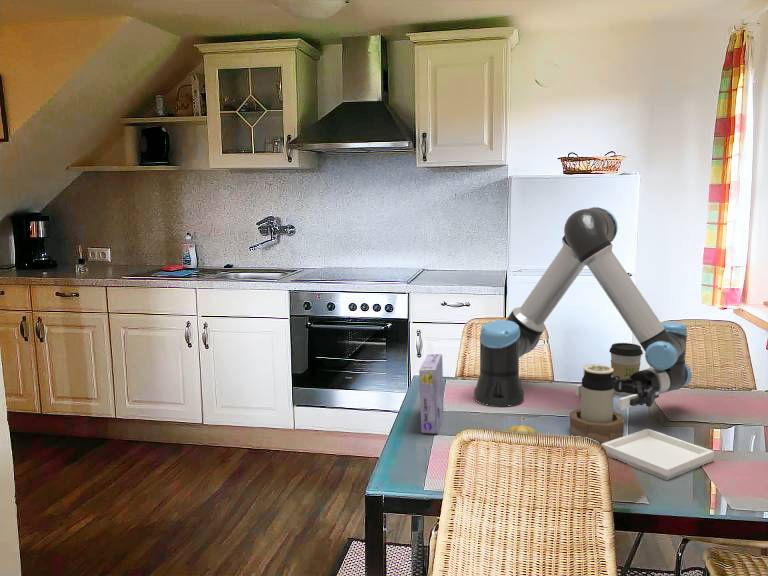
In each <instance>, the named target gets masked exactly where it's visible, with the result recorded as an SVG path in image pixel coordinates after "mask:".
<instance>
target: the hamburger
mask: <svg viewBox="0 0 768 576" xmlns="http://www.w3.org/2000/svg"><path fill="white" fill-rule="evenodd" d="M520 419H521V420H520V421H521V424H520V425H519V424H517V425H514V426H511V427H509V428H507V429H506V431H509V432H517V433H527V434H538V432H537V430H535V429H534V428H532V427H531V426H527V425H522V423H523V422H524V421H527V420H528V418H526V417H525V416H522V415H521V417H520Z"/></svg>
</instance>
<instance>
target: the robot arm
mask: <svg viewBox="0 0 768 576" xmlns="http://www.w3.org/2000/svg"><path fill="white" fill-rule="evenodd" d="M618 227H619V226H618V222H617V219H616V217H615V216H614V214H613V213H611V211H609V210H607V209H606V208H601V207H597V206H593V207H589V208H583V209H579V210H576V211H574V212H573V213H572V214H571V215H570V216H569V217H568V218H567V219H566V222H565V223H564V230H563V232H564V235H563V237H562V238H561V242H562V247H561V248H560V250H559V251H558V253H557V255H556V256H555V257H554V259H553V260H552V262H551V263H550V264H549V266H548V267H547V268H546V269H545V272H544V273H543V275H542V276H541V278H540V279H539V280H538V282H537V283H536V285H535V286H534V287H533V289H532V291H531V292H530V293H529V295H528V296H527V298H526V299H525V301H523V303H522V305H521V306H520V307H514V308H513V309H512V311H511V312H510V313H509V315H508V317H507V318H506V319H505V320H504V319H497V320H494V321H488V322H486V323H485V324H483V325H482V327H481V328H480V334H479V343H480V344H479V376H478V379H477V382H476V387H475V388H474V390H473V399H474V398H475V399H476V400H477V401H479V402H481V403H480V404H482V403H484V404H483V405H485V404H488V405H487V406H490V405H495V406H494V407H500V406H505V407H509V406H508V405H514V406H517V405H516V404H518V405H520V404H519V403H521V402H522V403H523V402H524V401H525V391H524V389H523V385H522V382H521V378H520V375H519V374H520V373H519V372H520V371H519V370H520V358H521V357H523V356H524V355H525V354H529V353H530V352H531V351H533V350H534V349H535V348H536V347H537V345H538V343H540V342H539V341H540V339H541V336H542V334H543V333H544V332H545V330H546V326H545V322H546V321H547V319H548V318H549V316H550V315H551V313H552V312H553V311H554V309H555V308H556V307H557V305H558V304H559V303H560V301H561V300H562V298H563V297H564V296H565V294H566V293H567V292H568V290H569V288H570V287H571V286H572V284H573V283H574V282H575V280H576V279H577V277H578V276H579V274H580V273H581V272H582V270H583V269H584V268H585V266H587V267H588V269H589V271H590V272H591V273H592V275H593V276H594V278H595V279H596V281H597V282H598V284H599V285H600V287H601V288H602V290H603V291H604V292H605V294H606V295H607V297H608V299H609V300H610V302H611V303H612V305H613V307H615V309H616V310H617V312H618V313H619V315H620V316H621V318H622V319H623V321H624V322H625V324H626V325H627V327H628V328H629V329H630V331H631V333H632V334H633V336H634V337H635V338H636V340H637V341H638V343H639V344H640V347H641V349H643V350H644V352H645V354H644V357H645V360H646V361H645V362H646V363H647V364H648V366H650V368H646V369H641V370H639V371H638V372H635V373H633V374H632V375H631V377H630V378H626V379H620V377H619V376H614V377H612V378H613V380H614V390H615V391H616V392H625V393H630V394H634V395H630V396H622V397H621V398H619V399H618V410H621V411H622V410H626V409H629V408H632V407H634V406H636V407H637V406H644V405H645V406H646V407H648V408H649V407H650V408H651V407H652V406H653V404H654V401H655V400H656V399H657V398H659V397H660V395H661V394H664V393H669V392H671V391H677V390H680V389H682V388H684V387H686V386H687V385H689V384H690V382H691V381H692V378H693V376H692V375H693V374H692V370H691V368H690V366H689V365H688V364H686V351H687V338H688V334H687V333H688V327H687V325H686V324H684V322H683V323H682V322H678V321H662V322H661V321H660V320H659V318H658V316H657V315H656V314H655V312H654V311H653V309H652V308H651V306H650V304H649V303H648V302H647V300H646V299H645V297H644V296H643V295H642V293H641V292H640V290H639V288H638V286H636V284H635V283H634V281H633V280H632V278H631V277H630V275H629V274H628V273H627V271H626V270H625V268H624V266H623V265H622V263H621V262H620V260H619V259H618V258H617V256H616V254H615V253H614V252H613V243H612V242H613V241H614V240H615V238H616V237H617V236H616V235H617V234H618ZM619 384H621V389H619ZM575 391H576V392H575V396H578V397H579V396H581V392H582V383H581V384H577V385H575ZM475 399H474V400H475ZM476 400H475V401H476ZM477 401H476V402H477ZM479 402H478V403H479ZM522 403H521V404H522Z"/></svg>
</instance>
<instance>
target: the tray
mask: <svg viewBox="0 0 768 576" xmlns="http://www.w3.org/2000/svg"><path fill="white" fill-rule="evenodd" d="M601 445H602V446H603V447H604V448H605V449H606V450H607V453H608V456H609V457H608V456H607V457H608V458H611V457H613V458H615V459H618V460H620V461H622V462H621V463H623V462H624V463H623V464H625V463H627V464H626V465H628V466H631V467H632V468H636V469H638V470H641V471H643V472H645V473H648V474H650V475H652V476H655V477H657V478H660V479H663V480H665V481H669V480H671V479H674V478H676V477H679V476H682V475H683V474H687V473H688V472H691V471H694V470H696V469H698V468H700V466H701V467H703V466H705V465H704V464H706V463H707V462H710V461H712V460H713V461H714V458H715V457H714V456H715V450H711V449H709V448H705V447H703V446H700V445H697V444H693V443H691V442H688V441H684V440H682V439H680V438H676V437H674V436H671V435H668V434H665V433H663V432H659V431H656V430H653V429H650V428H649V427H648V428H645V429H641V430H638V431H636V432H632V433H630V434H627V435H623V437H620V438H617V439H614V440H611V441H608V442H605V443H602V444H600V446H601ZM613 458H612V459H613ZM615 459H614V460H615ZM618 460H617V461H618ZM620 461H619V462H620ZM702 465H703V466H702ZM706 465H707V464H706Z"/></svg>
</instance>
